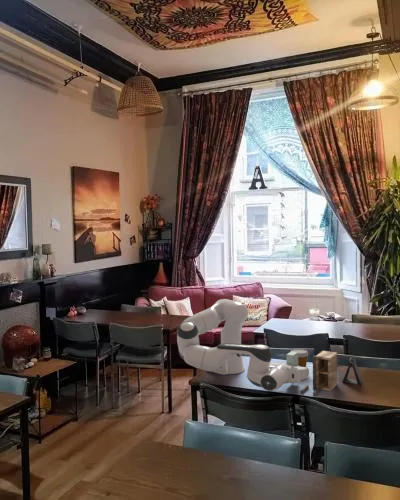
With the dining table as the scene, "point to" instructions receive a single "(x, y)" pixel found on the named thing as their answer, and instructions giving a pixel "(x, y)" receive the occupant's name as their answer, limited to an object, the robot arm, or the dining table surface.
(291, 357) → the pale green block
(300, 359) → the disposable coffee cup
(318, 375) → the cabinet
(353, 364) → the dark grey triangular stand
